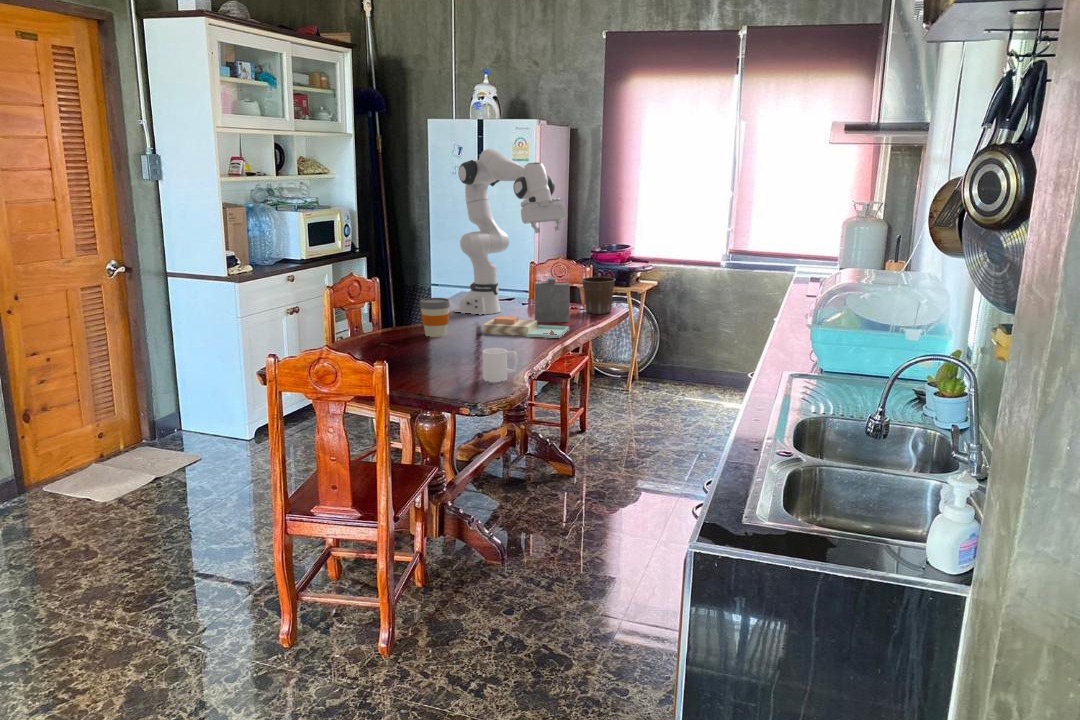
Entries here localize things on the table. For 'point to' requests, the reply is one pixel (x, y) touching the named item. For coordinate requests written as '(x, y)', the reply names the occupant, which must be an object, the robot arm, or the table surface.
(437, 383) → the table surface
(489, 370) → the cup
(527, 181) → the robot arm
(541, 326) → the tray
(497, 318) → the salmon pink block
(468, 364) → the table surface
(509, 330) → the beige flat block
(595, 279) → the plant pot
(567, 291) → the hip flask
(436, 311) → the reusable coffee cup
